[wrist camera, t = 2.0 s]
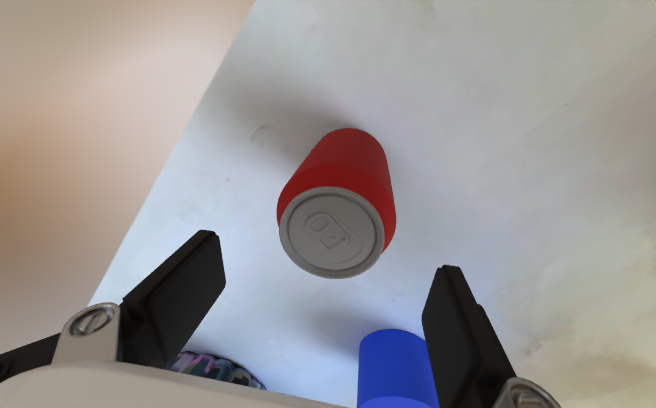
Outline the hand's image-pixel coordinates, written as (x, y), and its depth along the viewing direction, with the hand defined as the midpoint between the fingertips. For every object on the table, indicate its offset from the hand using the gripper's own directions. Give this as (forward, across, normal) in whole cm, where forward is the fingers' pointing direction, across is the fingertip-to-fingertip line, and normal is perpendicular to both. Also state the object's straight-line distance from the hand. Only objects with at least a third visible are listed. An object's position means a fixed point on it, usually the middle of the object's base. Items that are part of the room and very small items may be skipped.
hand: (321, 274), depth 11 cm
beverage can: (+14, 0, 0) cm, 14 cm away
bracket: (+15, -14, +27) cm, 33 cm away
